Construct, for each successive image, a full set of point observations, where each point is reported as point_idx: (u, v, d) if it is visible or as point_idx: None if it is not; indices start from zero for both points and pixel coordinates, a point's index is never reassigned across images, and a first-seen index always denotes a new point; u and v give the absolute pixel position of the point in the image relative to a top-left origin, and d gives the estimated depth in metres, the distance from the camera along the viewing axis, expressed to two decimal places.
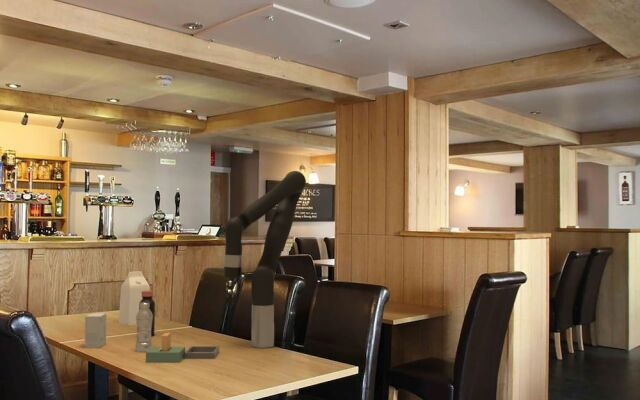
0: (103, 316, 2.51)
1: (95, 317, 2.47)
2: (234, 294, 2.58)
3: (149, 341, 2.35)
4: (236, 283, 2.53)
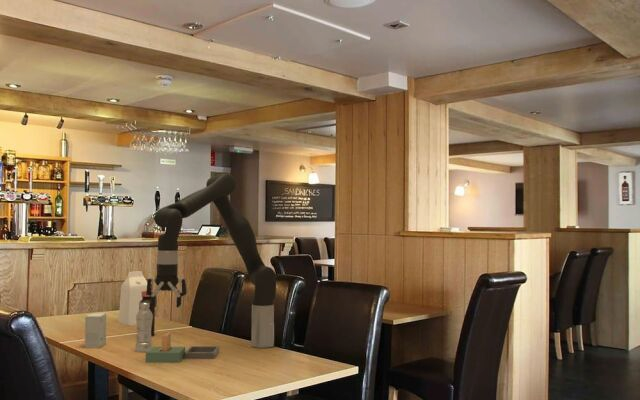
0: (103, 316, 2.51)
1: (95, 317, 2.47)
2: None
3: (149, 341, 2.35)
4: None
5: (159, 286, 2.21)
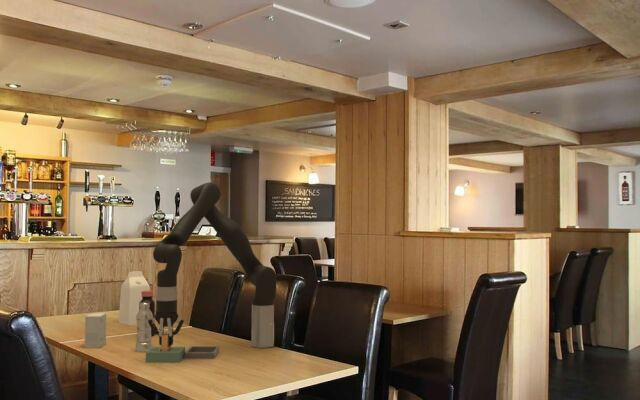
0: (103, 316, 2.51)
1: (95, 317, 2.47)
2: None
3: (149, 341, 2.35)
4: None
5: (161, 323, 2.20)
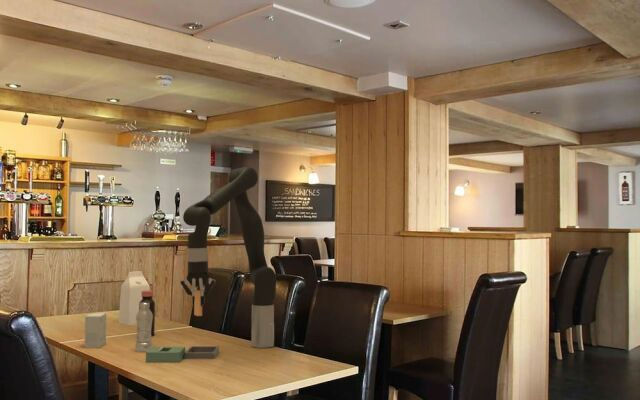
0: (103, 316, 2.51)
1: (95, 317, 2.47)
2: None
3: (149, 341, 2.35)
4: None
5: (193, 284, 2.27)
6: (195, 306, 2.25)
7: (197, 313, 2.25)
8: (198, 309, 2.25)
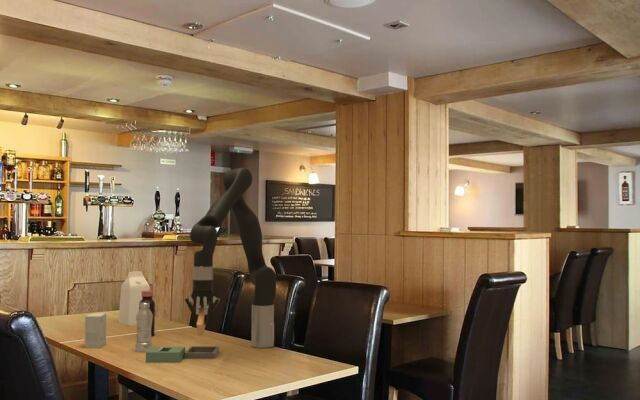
0: (103, 316, 2.51)
1: (95, 317, 2.47)
2: None
3: (149, 341, 2.35)
4: None
5: (197, 302, 2.28)
6: (198, 318, 2.26)
7: (200, 323, 2.24)
8: (201, 321, 2.25)
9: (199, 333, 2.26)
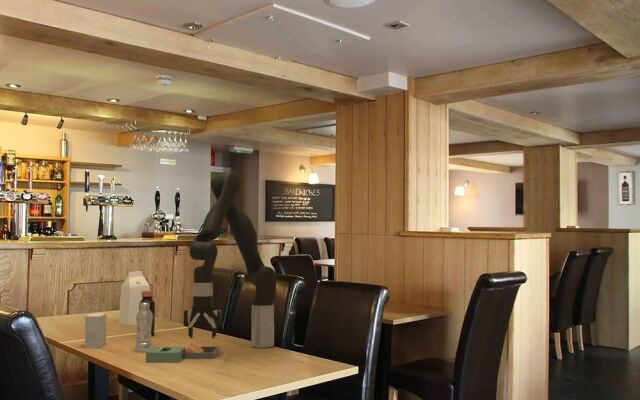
0: (103, 316, 2.51)
1: (95, 317, 2.47)
2: (191, 327, 2.30)
3: (149, 341, 2.35)
4: None
5: (195, 317, 2.28)
6: None
7: (187, 347, 2.24)
8: (188, 346, 2.26)
9: None
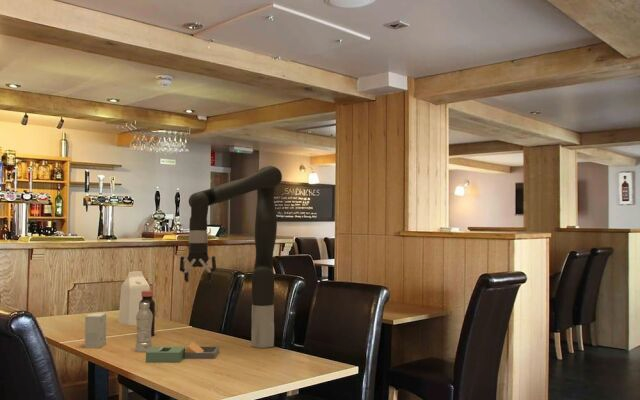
0: (103, 316, 2.51)
1: (95, 317, 2.47)
2: None
3: (149, 341, 2.35)
4: None
5: (191, 263, 2.42)
6: None
7: (187, 347, 2.24)
8: (188, 346, 2.26)
9: None
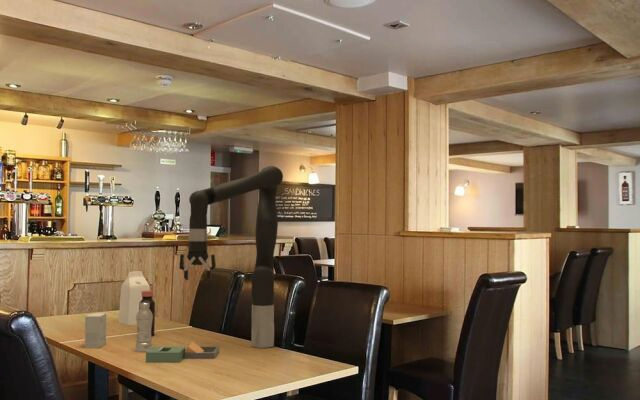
0: (103, 316, 2.51)
1: (95, 317, 2.47)
2: None
3: (149, 341, 2.35)
4: None
5: (191, 261, 2.44)
6: None
7: (187, 347, 2.24)
8: (188, 346, 2.26)
9: None
